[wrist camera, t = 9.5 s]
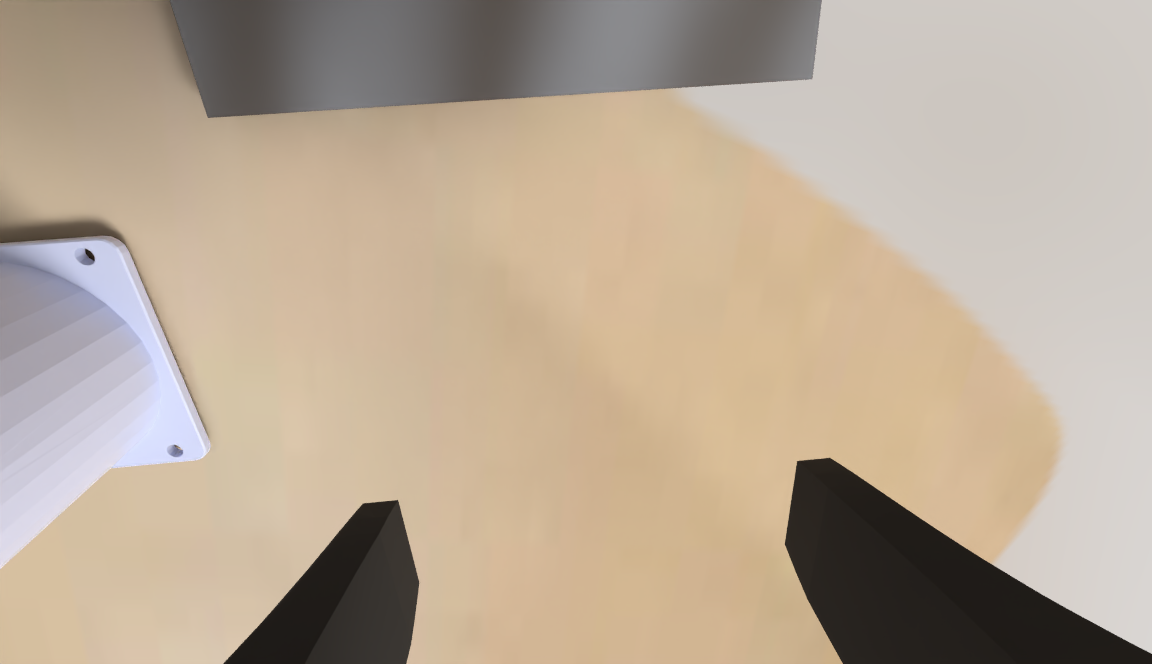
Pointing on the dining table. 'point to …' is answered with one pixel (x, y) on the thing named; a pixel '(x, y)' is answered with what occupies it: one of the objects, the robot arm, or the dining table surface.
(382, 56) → the base
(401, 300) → the dining table surface
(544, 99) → the dining table surface
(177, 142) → the dining table surface
